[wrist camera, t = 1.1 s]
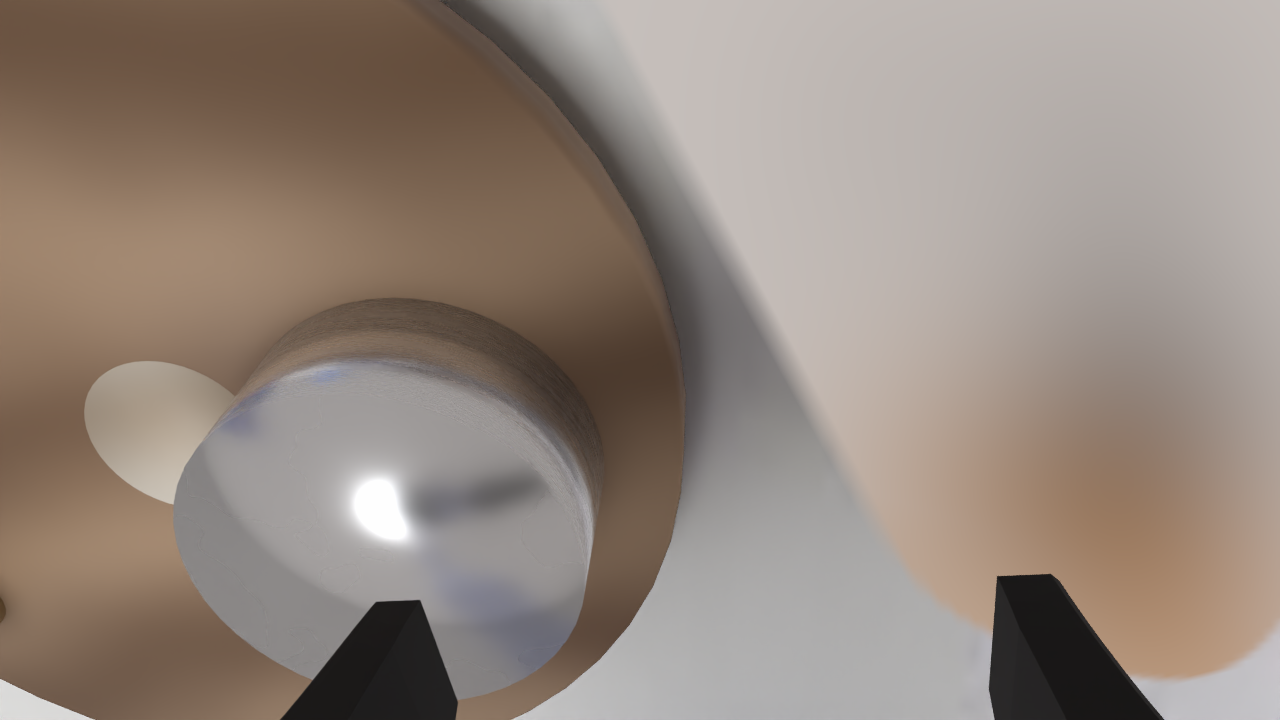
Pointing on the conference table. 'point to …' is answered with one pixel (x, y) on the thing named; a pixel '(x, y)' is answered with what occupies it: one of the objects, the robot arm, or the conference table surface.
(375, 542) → the aluminium cap
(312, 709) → the robot arm
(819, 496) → the conference table surface
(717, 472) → the conference table surface
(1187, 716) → the conference table surface
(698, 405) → the conference table surface
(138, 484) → the platter
